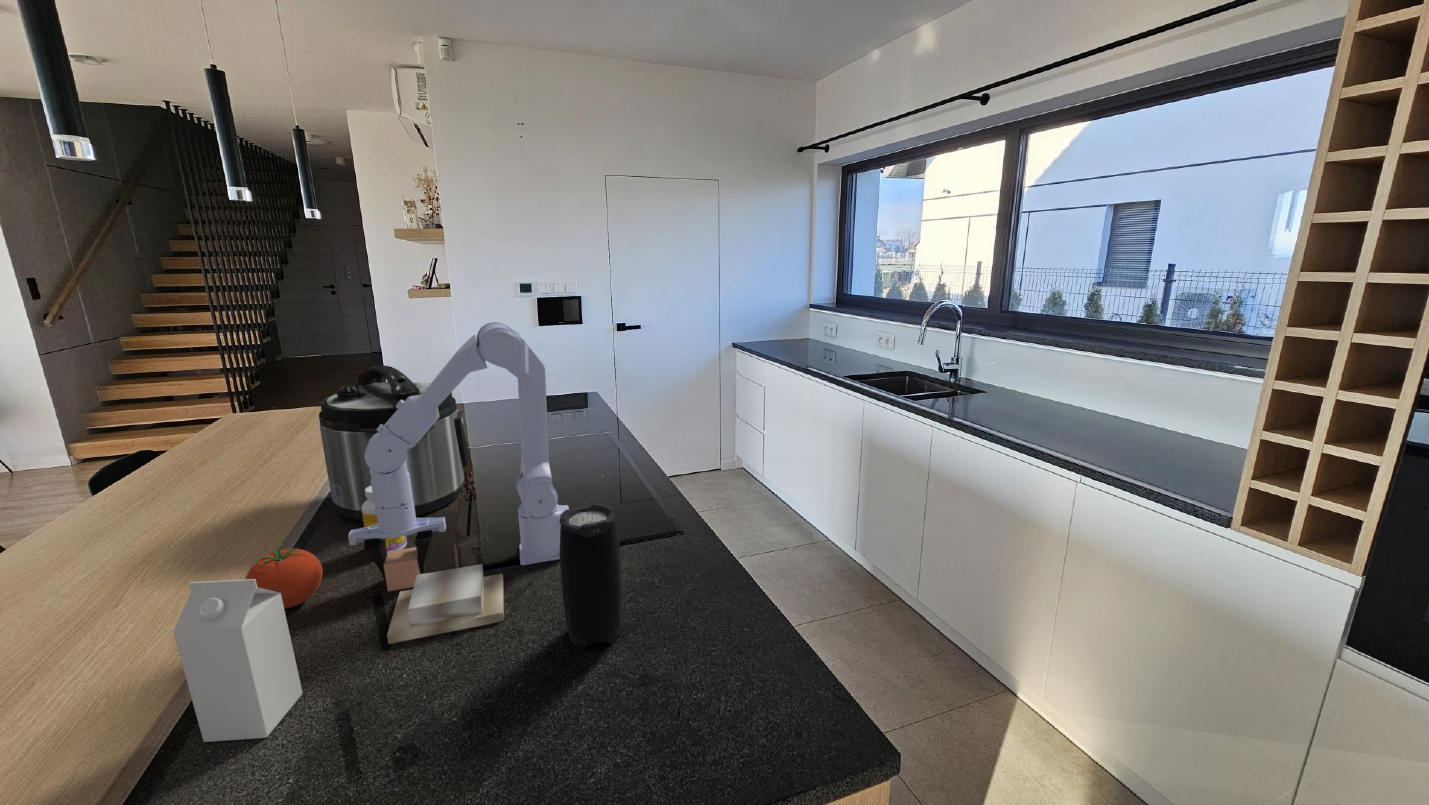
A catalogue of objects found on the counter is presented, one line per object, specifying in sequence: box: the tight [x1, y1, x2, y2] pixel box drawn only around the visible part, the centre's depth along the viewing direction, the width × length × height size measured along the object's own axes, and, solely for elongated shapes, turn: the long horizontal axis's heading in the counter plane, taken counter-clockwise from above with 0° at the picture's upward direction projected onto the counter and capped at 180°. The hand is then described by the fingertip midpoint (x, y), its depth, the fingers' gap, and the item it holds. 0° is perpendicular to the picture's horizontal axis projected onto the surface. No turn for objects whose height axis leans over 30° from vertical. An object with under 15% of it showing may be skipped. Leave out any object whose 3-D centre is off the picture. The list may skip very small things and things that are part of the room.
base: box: [386, 563, 505, 645], centre depth 92 cm, size 16×12×4 cm
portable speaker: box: [559, 502, 623, 650], centre depth 84 cm, size 9×9×20 cm
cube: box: [384, 546, 421, 592], centre depth 101 cm, size 5×5×5 cm
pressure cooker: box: [318, 365, 470, 522], centre depth 131 cm, size 30×28×32 cm
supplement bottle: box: [362, 486, 408, 555], centre depth 111 cm, size 7×7×13 cm
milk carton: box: [173, 578, 303, 743], centre depth 69 cm, size 7×7×19 cm
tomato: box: [244, 547, 324, 610], centre depth 93 cm, size 10×10×10 cm
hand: (405, 573), depth 101 cm, fingers closed on cube, 5 cm apart
